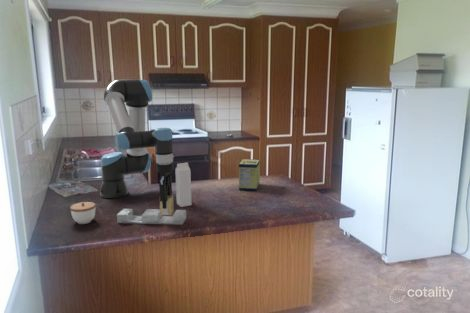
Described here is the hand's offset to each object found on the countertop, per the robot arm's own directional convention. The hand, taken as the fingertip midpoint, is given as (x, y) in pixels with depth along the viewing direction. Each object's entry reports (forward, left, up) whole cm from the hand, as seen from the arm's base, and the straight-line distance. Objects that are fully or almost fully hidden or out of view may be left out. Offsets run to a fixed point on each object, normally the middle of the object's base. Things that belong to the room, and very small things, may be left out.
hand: (167, 212), depth 174 cm
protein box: (+36, +57, -4) cm, 67 cm away
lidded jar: (-38, -3, -4) cm, 38 cm away
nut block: (0, 0, 0) cm, 0 cm away
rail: (-7, 0, -4) cm, 8 cm away
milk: (+3, +23, -4) cm, 24 cm away
